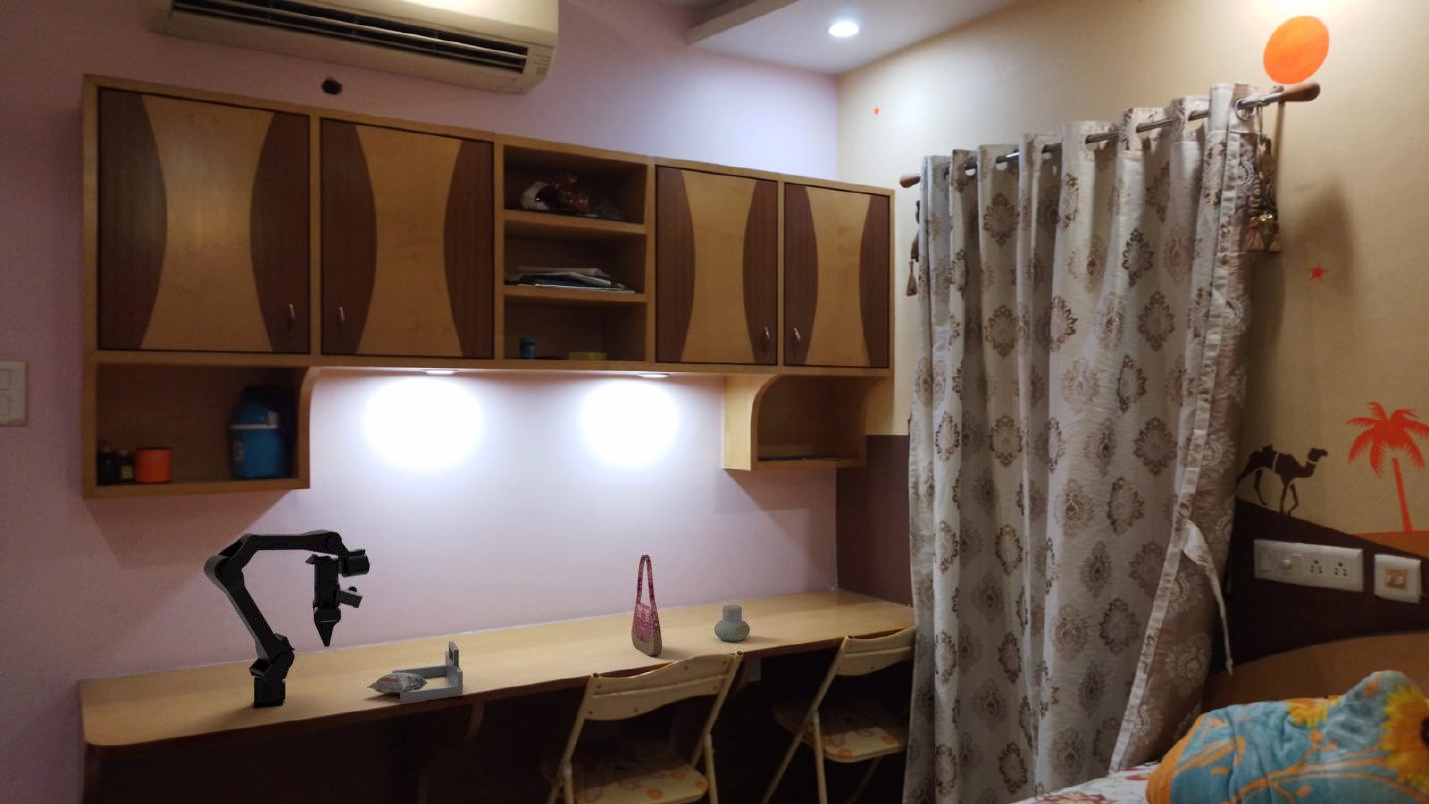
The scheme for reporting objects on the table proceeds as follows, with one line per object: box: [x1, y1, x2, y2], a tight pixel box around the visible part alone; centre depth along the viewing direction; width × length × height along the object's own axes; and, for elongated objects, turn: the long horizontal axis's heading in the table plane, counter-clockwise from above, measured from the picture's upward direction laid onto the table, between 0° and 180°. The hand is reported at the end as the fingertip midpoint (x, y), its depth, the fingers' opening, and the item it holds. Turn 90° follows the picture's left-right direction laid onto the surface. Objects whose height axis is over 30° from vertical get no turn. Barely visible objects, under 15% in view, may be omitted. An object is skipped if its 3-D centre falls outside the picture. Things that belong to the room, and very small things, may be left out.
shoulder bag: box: [631, 554, 663, 657], centre depth 277 cm, size 17×3×28 cm, turn 27°
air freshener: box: [713, 604, 751, 643], centre depth 291 cm, size 11×8×10 cm
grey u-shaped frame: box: [391, 640, 464, 704], centre depth 241 cm, size 15×21×10 cm
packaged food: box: [366, 672, 428, 695], centre depth 236 cm, size 9×12×5 cm
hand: (326, 642), depth 239 cm, fingers open, 9 cm apart
